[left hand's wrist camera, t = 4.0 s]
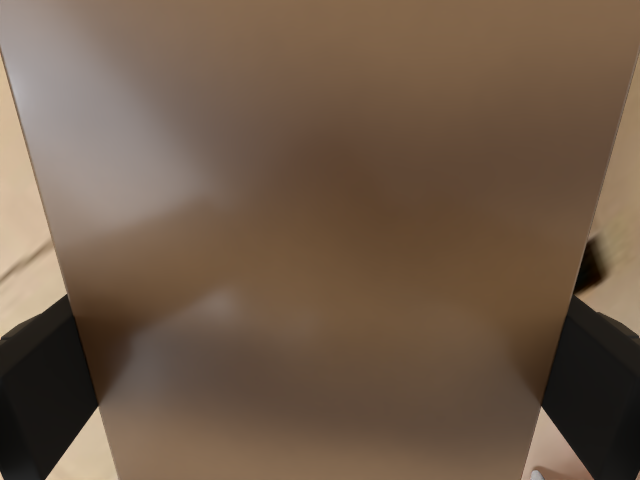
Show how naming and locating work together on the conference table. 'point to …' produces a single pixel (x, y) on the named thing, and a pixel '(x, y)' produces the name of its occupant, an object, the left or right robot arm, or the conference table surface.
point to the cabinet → (319, 220)
